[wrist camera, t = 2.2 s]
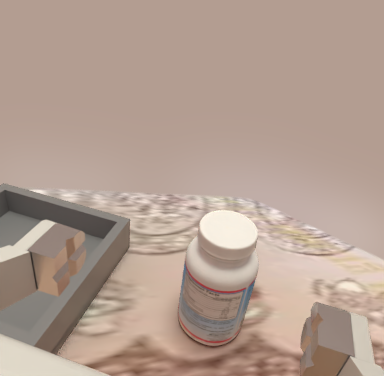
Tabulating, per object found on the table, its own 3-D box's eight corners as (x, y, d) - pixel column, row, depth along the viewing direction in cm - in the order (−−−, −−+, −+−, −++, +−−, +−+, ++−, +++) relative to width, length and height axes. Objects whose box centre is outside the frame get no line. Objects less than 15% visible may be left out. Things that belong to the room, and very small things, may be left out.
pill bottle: (208, 283, 37) (225, 195, 30) (253, 323, 33) (284, 233, 27) (163, 314, 33) (173, 221, 27) (209, 362, 29) (233, 268, 23)
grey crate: (129, 246, 40) (129, 219, 38) (39, 378, 27) (32, 348, 25) (9, 210, 43) (3, 183, 41) (-125, 313, 30) (-145, 281, 27)
